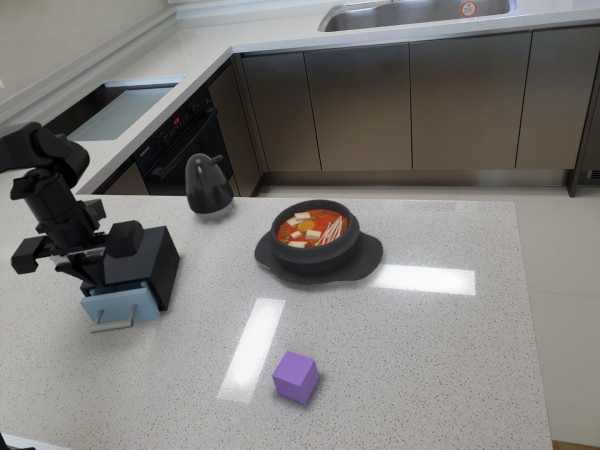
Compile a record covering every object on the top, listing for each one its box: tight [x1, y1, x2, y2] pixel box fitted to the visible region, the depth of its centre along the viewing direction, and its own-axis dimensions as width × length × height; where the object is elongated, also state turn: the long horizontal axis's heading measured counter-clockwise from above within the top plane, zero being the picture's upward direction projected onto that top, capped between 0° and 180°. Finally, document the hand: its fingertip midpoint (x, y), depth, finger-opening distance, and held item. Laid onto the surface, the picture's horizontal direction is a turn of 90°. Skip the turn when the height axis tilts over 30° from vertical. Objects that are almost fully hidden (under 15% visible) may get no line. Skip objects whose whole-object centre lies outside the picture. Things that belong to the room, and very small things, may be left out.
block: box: [271, 349, 320, 405], centre depth 65 cm, size 4×4×4 cm
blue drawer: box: [79, 281, 161, 334], centre depth 82 cm, size 18×11×7 cm, turn 2°
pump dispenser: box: [184, 153, 235, 221], centre depth 101 cm, size 10×10×15 cm
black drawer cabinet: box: [79, 225, 181, 313], centre depth 87 cm, size 15×13×9 cm
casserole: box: [253, 198, 384, 286], centre depth 85 cm, size 25×19×8 cm
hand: (102, 286), depth 74 cm, fingers closed
